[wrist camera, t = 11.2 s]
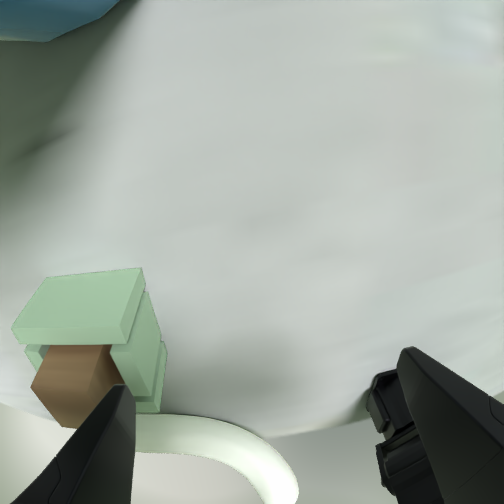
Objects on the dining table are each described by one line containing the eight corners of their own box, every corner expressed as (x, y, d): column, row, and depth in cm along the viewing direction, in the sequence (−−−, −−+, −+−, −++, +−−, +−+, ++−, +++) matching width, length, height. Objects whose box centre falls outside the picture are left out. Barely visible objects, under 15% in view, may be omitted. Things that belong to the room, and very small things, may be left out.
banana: (108, 384, 26) (78, 525, 13) (294, 414, 30) (322, 539, 17) (108, 410, 28) (86, 534, 15) (277, 436, 32) (297, 549, 19)
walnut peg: (137, 335, 23) (115, 432, 15) (93, 336, 23) (61, 426, 15) (122, 293, 21) (87, 392, 13) (76, 297, 21) (30, 387, 13)
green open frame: (141, 267, 20) (119, 325, 15) (167, 352, 24) (159, 412, 19) (46, 277, 20) (10, 328, 15) (82, 355, 24) (63, 408, 18)
